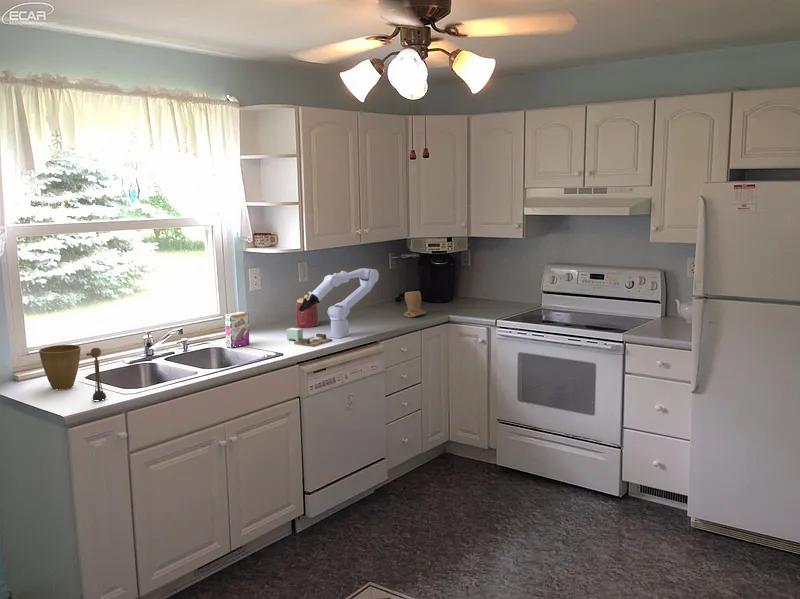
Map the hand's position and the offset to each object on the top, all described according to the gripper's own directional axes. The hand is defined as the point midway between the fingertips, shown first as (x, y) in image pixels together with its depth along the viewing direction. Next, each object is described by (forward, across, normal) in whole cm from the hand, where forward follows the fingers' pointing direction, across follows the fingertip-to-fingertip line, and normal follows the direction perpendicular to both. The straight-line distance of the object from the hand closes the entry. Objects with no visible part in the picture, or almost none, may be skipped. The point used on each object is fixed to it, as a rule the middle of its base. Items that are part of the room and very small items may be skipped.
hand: (302, 309), depth 354 cm
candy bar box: (+31, -18, -7) cm, 37 cm away
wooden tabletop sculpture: (+102, +38, -33) cm, 114 cm away
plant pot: (+105, +13, -46) cm, 115 cm away
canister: (-15, -44, +14) cm, 49 cm away
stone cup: (-66, -36, +54) cm, 93 cm away
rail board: (+6, -4, +16) cm, 18 cm away
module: (+9, -13, +10) cm, 19 cm away
